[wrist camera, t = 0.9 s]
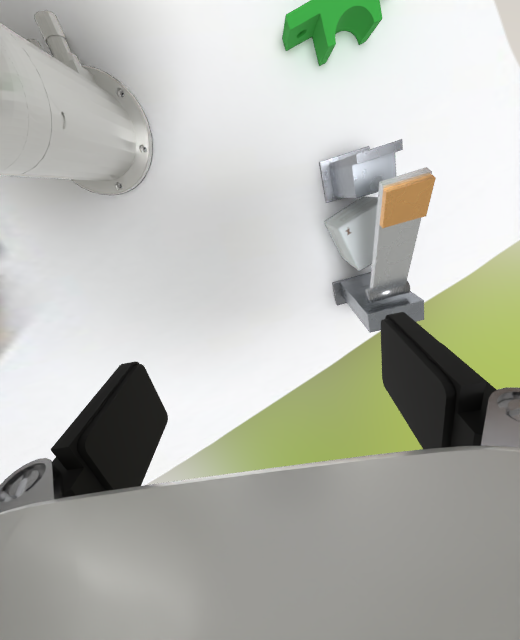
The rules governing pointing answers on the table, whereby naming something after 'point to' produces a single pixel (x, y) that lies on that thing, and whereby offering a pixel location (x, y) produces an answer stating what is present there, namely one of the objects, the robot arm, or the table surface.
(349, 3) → the pipe clamp
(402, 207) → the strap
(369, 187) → the lug block
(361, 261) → the product box
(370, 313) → the hinge post
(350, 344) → the table surface
